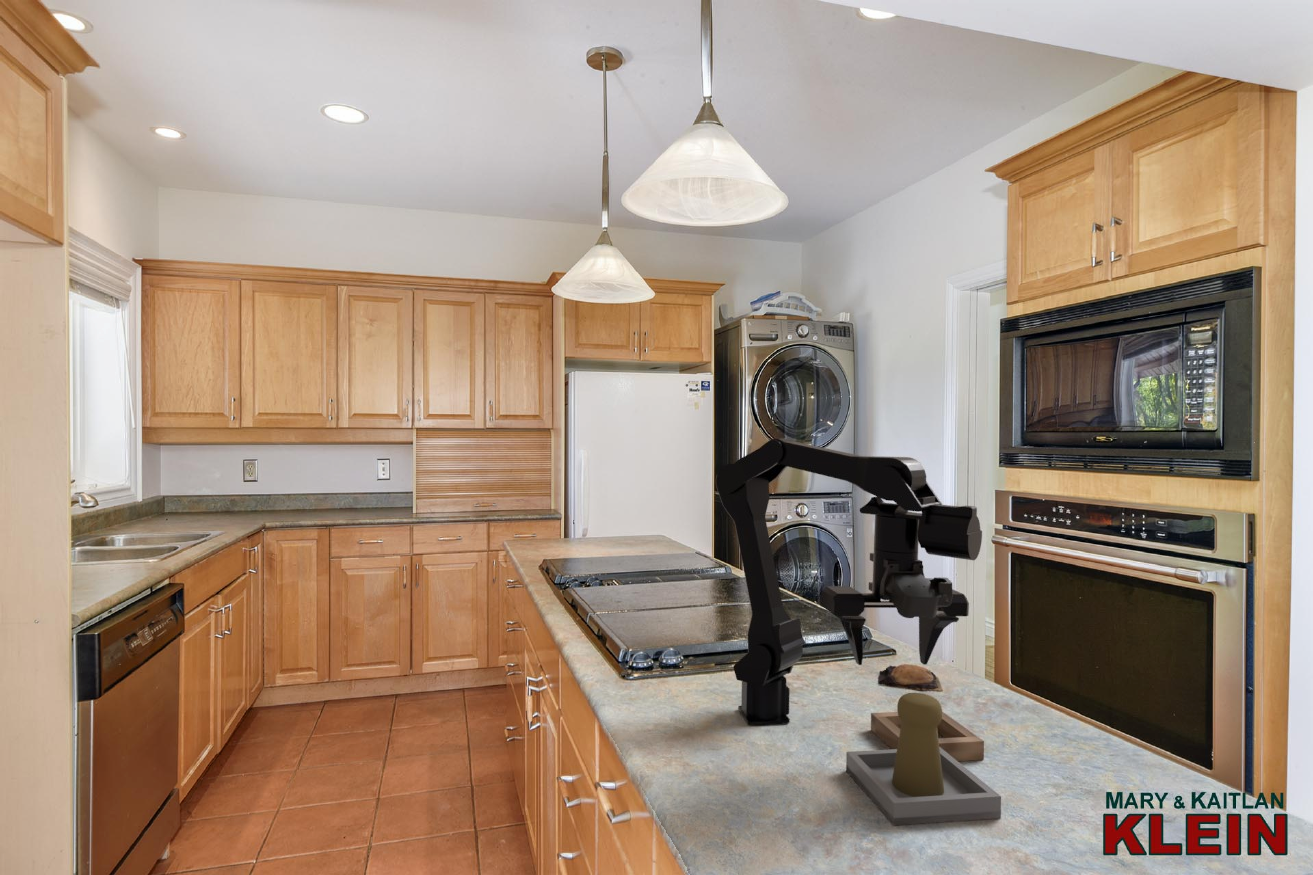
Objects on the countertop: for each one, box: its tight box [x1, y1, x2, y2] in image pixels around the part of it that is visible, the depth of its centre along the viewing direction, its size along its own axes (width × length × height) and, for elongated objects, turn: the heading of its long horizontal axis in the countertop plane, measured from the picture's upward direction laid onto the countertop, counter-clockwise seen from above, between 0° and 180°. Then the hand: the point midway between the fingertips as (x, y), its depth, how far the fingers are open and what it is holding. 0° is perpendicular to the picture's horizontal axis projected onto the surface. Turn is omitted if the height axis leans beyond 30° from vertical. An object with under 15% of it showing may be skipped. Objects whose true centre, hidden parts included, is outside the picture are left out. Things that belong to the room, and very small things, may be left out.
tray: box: [845, 747, 1002, 826], centre depth 87 cm, size 13×13×2 cm
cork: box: [892, 692, 944, 797], centre depth 87 cm, size 6×6×11 cm
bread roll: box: [877, 663, 944, 692], centre depth 127 cm, size 11×8×4 cm
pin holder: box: [870, 711, 985, 762], centre depth 101 cm, size 11×11×2 cm
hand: (891, 663), depth 97 cm, fingers open, 9 cm apart
